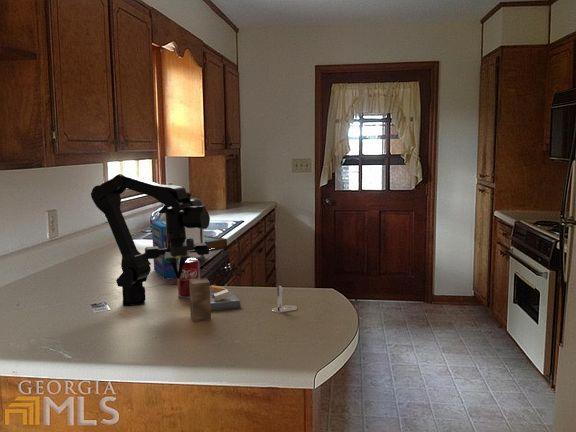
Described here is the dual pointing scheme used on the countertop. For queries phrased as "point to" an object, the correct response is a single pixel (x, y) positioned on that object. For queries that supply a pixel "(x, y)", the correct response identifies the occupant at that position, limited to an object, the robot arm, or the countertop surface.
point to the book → (215, 242)
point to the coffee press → (195, 230)
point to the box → (160, 240)
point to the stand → (279, 299)
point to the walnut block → (200, 299)
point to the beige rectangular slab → (221, 295)
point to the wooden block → (216, 289)
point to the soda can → (187, 276)
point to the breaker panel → (224, 302)
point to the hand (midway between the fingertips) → (178, 278)
